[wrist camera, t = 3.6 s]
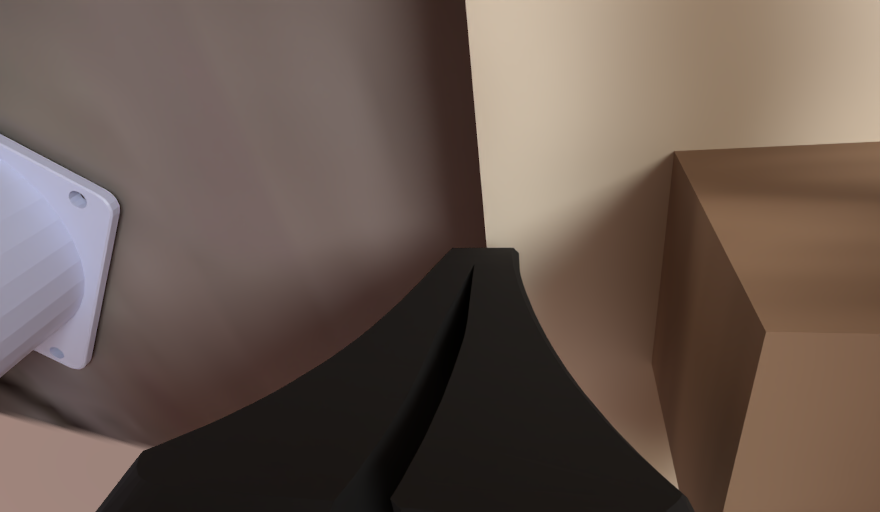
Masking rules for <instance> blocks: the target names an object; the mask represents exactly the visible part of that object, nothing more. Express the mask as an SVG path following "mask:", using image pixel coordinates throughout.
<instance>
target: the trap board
mask: <svg viewBox="0 0 880 512" xmlns="http://www.w3.org/2000/svg"><path fill="white" fill-rule="evenodd" d="M465 2H466V13H467V25H468V36H469V48H470V60H471V71H472V83H473V94H474V106H475V117H476V129H477V140H478V152H479V164H480V175H481V187H482V198H483V210H484V221H485V233H486V245H487V248H514V249H515V250H516V251H517V252H519V263H520V274H521V278H522V281H523V285H524V288H525V291H526V293H527V296H528V298H529V300H530V303H531V305H532V308H533V310H534V312H535V315H536V317H537V319H538V321H539V323H540V325H541V327H542V329H543V330H544V332H545V334H546V336H547V338H548V340H549V341H550V343H551V345H552V347H553V348H554V350H555V352H556V353H557V355H558V356H559V358H560V359H561V361H562V362H563V364H564V365H565V367H566V368H567V370H568V371H569V373H570V374H571V375H572V377H573V378H574V380H575V381H576V382H577V384H578V385H579V386H580V388H581V389H582V390H583V392H584V393H585V394H586V395H587V397H588V398H589V399H590V400H591V401H592V402H593V404H594V405H595V406H596V407H597V408H598V409H599V411H600V412H601V413H602V414H603V415H604V417H605V418H606V419H607V420H608V421H609V422H610V424H611V425H612V426H613V427H614V428H615V429H616V430H617V431H618V432H619V433H620V434H621V435H622V436H623V438H624V439H625V440H626V441H627V442H628V443H629V444H630V445H631V446H632V447H633V448H634V449H635V450H636V451H637V452H638V453H639V454H640V455H641V456H642V457H643V458H644V459H645V460H646V461H648V462H649V463H650V464H651V465H652V466H653V467H654V468H655V469H656V470H657V471H658V472H659V473H660V474H661V475H662V476H664V477H665V478H666V479H667V480H668V481H669V482H670V483H671V484H673V485H674V486H675V487H676V488H677V489H678V490H679V488H678V483H677V479H676V474H675V469H674V465H673V460H672V456H671V451H670V446H669V442H668V437H667V433H666V428H665V423H664V419H663V414H662V409H661V405H660V400H659V396H658V391H657V386H656V382H655V377H654V372H653V368H652V355H653V345H654V336H655V327H656V317H657V308H658V299H659V289H660V280H661V270H662V261H663V252H664V242H665V233H666V224H667V214H668V205H669V196H670V186H671V177H672V167H673V158H674V151H687V150H708V149H729V148H751V147H772V146H794V145H815V144H837V143H858V142H879V141H880V0H465Z"/></svg>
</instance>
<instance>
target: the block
mask: <svg viewBox="0 0 880 512" xmlns="http://www.w3.org/2000/svg"><path fill="white" fill-rule="evenodd" d="M652 368H653V372H654V377H655V382H656V386H657V391H658V396H659V400H660V405H661V409H662V414H663V419H664V423H665V428H666V433H667V437H668V442H669V446H670V451H671V456H672V460H673V465H674V469H675V474H676V479H677V483H678V488H679V491H681V492H682V493H683V494H684V495H685V496H686V497H687V498H688V500H689V501H690V503H691V505H692V507H693V509H694V511H695V512H880V141H879V142H858V143H837V144H815V145H794V146H772V147H751V148H729V149H708V150H687V151H674V158H673V167H672V177H671V186H670V196H669V205H668V214H667V224H666V233H665V242H664V252H663V261H662V270H661V280H660V289H659V299H658V308H657V317H656V327H655V336H654V345H653V355H652Z"/></svg>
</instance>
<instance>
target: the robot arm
mask: <svg viewBox="0 0 880 512" xmlns="http://www.w3.org/2000/svg"><path fill="white" fill-rule="evenodd" d="M81 194H82V195H83V196H84V198H85V199H86V200H85V199H84V198H83V197H82V196H81ZM119 214H120V205H119V203H118V201H117V199H116V198H115V197H114V195H113V194H111V193H110V192H109V191H107V190H106V189H104V188H102V187H100V186H98V185H96V184H94V183H92V182H91V181H89V180H87V179H85V178H83V177H81V176H79V175H77V174H75V173H73V172H72V171H70V170H68V169H66V168H64V167H62V166H60V165H58V164H56V163H54V162H53V161H51V160H49V159H47V158H45V157H43V156H41V155H39V154H37V153H35V152H34V151H32V150H30V149H28V148H26V147H24V146H22V145H20V144H18V143H17V142H15V141H13V140H11V139H9V138H7V137H5V136H3V135H1V134H0V377H2V376H3V375H4V374H5V373H6V372H8V371H9V370H10V369H11V368H12V367H14V366H15V365H16V364H17V363H18V362H20V361H21V360H22V359H23V358H24V357H26V356H27V355H28V354H29V353H30V352H32V351H33V350H35V351H37V352H39V353H41V354H43V355H45V356H47V357H49V358H51V359H53V360H55V361H57V362H60V363H62V364H64V365H66V366H68V367H70V368H73V369H82V368H84V367H85V366H86V365H87V364H88V363H89V362H90V360H91V358H92V353H93V347H94V342H95V337H96V332H97V327H98V322H99V317H100V312H101V306H102V301H103V296H104V291H105V286H106V281H107V276H108V271H109V266H110V260H111V255H112V250H113V245H114V240H115V235H116V230H117V225H118V219H119ZM96 512H695V511H694V509H693V507H692V505H691V503H690V501H689V500H688V498H687V497H686V496H685V495H684V494H683V493H682V492H681V491H679V490H678V489H677V488H676V487H675V486H674V485H673V484H671V483H670V482H669V481H668V480H667V479H666V478H665V477H664V476H662V475H661V474H660V473H659V472H658V471H657V470H656V469H655V468H654V467H653V466H652V465H651V464H650V463H649V462H648V461H646V460H645V459H644V458H643V457H642V456H641V455H640V454H639V453H638V452H637V451H636V450H635V449H634V448H633V447H632V446H631V445H630V444H629V443H628V442H627V441H626V440H625V439H624V438H623V436H622V435H621V434H620V433H619V432H618V431H617V430H616V429H615V428H614V427H613V426H612V425H611V424H610V422H609V421H608V420H607V419H606V418H605V417H604V415H603V414H602V413H601V412H600V411H599V409H598V408H597V407H596V406H595V405H594V404H593V402H592V401H591V400H590V399H589V398H588V397H587V395H586V394H585V393H584V392H583V390H582V389H581V388H580V386H579V385H578V384H577V382H576V381H575V380H574V378H573V377H572V375H571V374H570V373H569V371H568V370H567V368H566V367H565V365H564V364H563V362H562V361H561V359H560V358H559V356H558V355H557V353H556V352H555V350H554V348H553V347H552V345H551V343H550V341H549V340H548V338H547V336H546V334H545V332H544V330H543V329H542V327H541V325H540V323H539V321H538V319H537V317H536V315H535V312H534V310H533V308H532V305H531V303H530V300H529V298H528V296H527V293H526V291H525V288H524V285H523V281H522V278H521V274H520V263H519V252H517V251H516V250H515V249H514V248H452V249H451V250H450V251H449V252H448V253H447V254H446V255H445V256H444V257H443V258H442V259H441V260H440V261H439V262H438V263H437V264H436V265H435V267H434V268H433V269H432V270H431V271H430V272H429V273H428V274H427V275H426V276H425V277H424V278H423V279H422V280H421V281H420V282H419V283H418V284H417V285H416V286H415V287H414V288H413V289H412V290H411V291H410V292H409V293H408V294H407V295H406V296H405V297H404V298H403V299H402V300H401V301H400V302H399V303H398V304H397V305H396V306H395V307H394V308H393V309H392V310H391V311H389V312H388V313H387V314H386V315H385V316H384V317H383V318H382V319H380V320H379V321H378V322H377V323H376V324H375V325H374V326H373V327H371V328H370V329H369V330H368V331H366V332H365V333H364V334H363V335H361V336H360V337H359V338H357V339H356V340H355V341H354V342H352V343H351V344H349V345H348V346H347V347H345V348H344V349H343V350H341V351H340V352H338V353H337V354H336V355H334V356H333V357H331V358H330V359H328V360H327V361H325V362H324V363H322V364H321V365H319V366H317V367H316V368H314V369H312V370H311V371H309V372H307V373H306V374H304V375H303V376H301V377H299V378H298V379H296V380H294V381H293V382H291V383H289V384H288V385H286V386H284V387H283V388H281V389H279V390H277V391H276V392H274V393H272V394H270V395H268V396H266V397H264V398H262V399H260V400H259V401H257V402H255V403H253V404H251V405H249V406H247V407H245V408H243V409H241V410H238V411H236V412H234V413H232V414H230V415H228V416H226V417H224V418H222V419H220V420H217V421H215V422H213V423H211V424H208V425H206V426H204V427H201V428H199V429H196V430H194V431H192V432H189V433H187V434H184V435H182V436H179V437H177V438H175V439H172V440H170V441H167V442H165V443H163V444H160V445H158V446H155V447H152V448H150V449H147V450H145V451H143V452H142V453H141V454H140V455H139V457H138V458H137V459H136V460H135V462H134V463H133V464H132V465H131V467H130V468H129V469H128V471H127V472H126V473H125V474H124V476H123V477H122V478H121V480H120V481H119V482H118V484H117V485H116V486H115V487H114V489H113V490H112V491H111V493H110V494H109V495H108V497H107V498H106V499H105V500H104V502H103V503H102V504H101V506H100V507H99V508H98V510H97V511H96Z"/></svg>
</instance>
